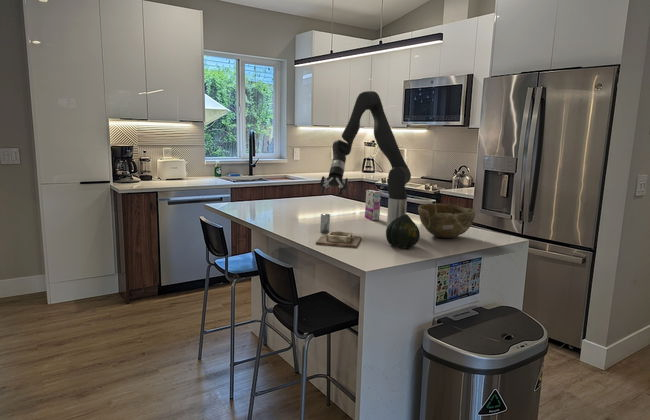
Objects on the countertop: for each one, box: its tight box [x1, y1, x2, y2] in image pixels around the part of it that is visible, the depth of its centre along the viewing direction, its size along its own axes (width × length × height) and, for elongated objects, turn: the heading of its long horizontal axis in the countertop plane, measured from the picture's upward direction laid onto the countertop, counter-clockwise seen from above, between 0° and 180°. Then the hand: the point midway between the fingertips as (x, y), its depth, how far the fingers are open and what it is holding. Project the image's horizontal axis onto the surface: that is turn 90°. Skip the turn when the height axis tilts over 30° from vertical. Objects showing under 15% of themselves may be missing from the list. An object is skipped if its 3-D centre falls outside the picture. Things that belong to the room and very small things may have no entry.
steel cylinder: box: [319, 213, 331, 234], centre depth 220 cm, size 4×4×9 cm
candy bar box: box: [364, 189, 382, 221], centre depth 260 cm, size 11×5×16 cm, turn 17°
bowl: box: [417, 203, 476, 239], centre depth 220 cm, size 28×27×15 cm
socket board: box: [315, 230, 362, 249], centre depth 204 cm, size 18×18×4 cm
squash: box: [385, 213, 421, 250], centre depth 199 cm, size 14×15×15 cm
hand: (331, 194), depth 230 cm, fingers open, 8 cm apart
